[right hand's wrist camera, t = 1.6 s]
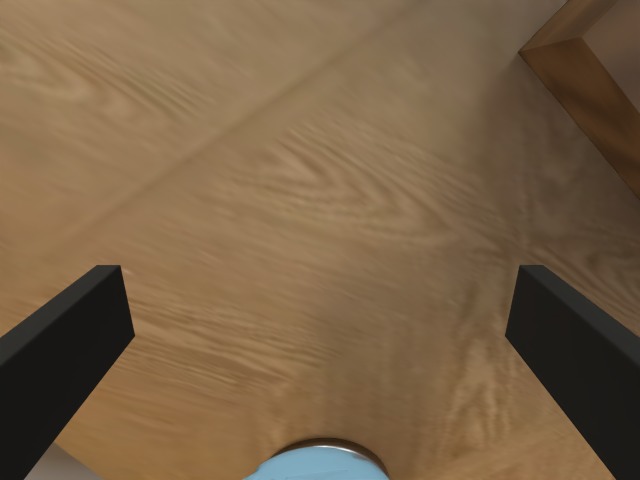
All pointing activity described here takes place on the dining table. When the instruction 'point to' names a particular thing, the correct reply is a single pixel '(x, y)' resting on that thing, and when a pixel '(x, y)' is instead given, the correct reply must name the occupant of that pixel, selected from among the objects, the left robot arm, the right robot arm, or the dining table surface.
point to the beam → (596, 75)
